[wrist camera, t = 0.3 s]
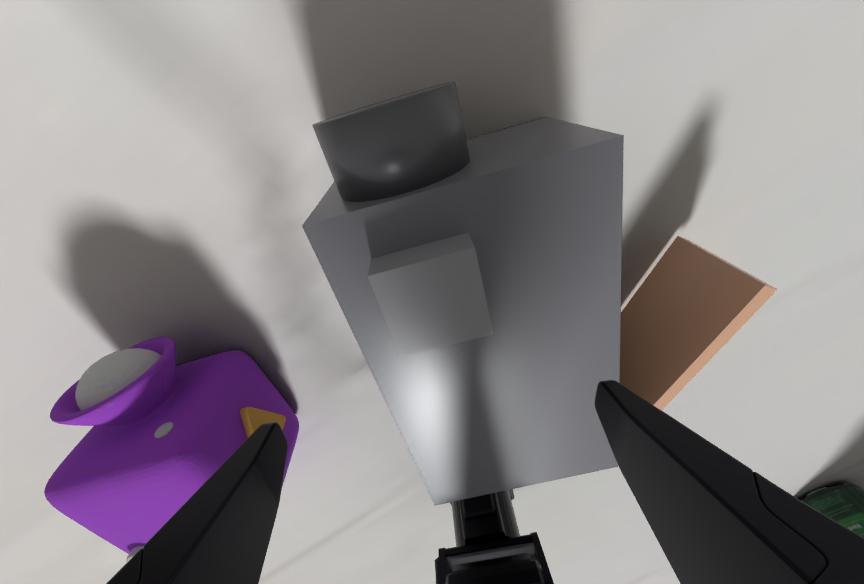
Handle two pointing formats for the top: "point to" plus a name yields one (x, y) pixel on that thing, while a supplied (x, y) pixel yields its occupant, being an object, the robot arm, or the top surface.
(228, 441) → the toy camera
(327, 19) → the top surface
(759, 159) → the top surface
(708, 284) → the side door
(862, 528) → the coffee jar
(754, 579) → the robot arm
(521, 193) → the block
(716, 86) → the top surface
